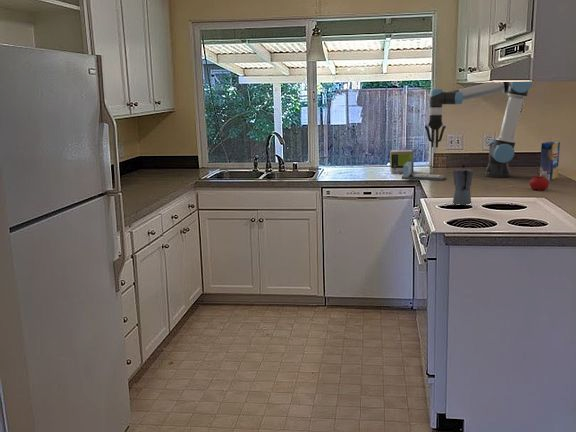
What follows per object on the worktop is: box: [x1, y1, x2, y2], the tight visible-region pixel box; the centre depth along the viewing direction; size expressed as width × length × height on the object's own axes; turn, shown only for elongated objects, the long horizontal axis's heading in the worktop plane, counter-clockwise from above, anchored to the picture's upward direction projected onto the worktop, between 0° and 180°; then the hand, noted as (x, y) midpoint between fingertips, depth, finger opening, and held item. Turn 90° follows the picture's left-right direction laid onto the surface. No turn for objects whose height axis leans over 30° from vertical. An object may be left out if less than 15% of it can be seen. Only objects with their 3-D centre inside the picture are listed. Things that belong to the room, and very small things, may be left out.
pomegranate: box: [529, 172, 550, 191], centre depth 336 cm, size 10×10×9 cm
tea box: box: [389, 149, 415, 174], centre depth 411 cm, size 15×10×15 cm, turn 84°
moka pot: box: [452, 164, 474, 205], centre depth 297 cm, size 10×15×20 cm, turn 178°
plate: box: [401, 173, 446, 182], centre depth 384 cm, size 25×12×3 cm, turn 66°
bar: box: [402, 161, 414, 177], centre depth 381 cm, size 22×4×7 cm, turn 162°
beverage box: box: [539, 141, 561, 181], centre depth 371 cm, size 7×11×22 cm, turn 136°
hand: (434, 152), depth 379 cm, fingers closed
